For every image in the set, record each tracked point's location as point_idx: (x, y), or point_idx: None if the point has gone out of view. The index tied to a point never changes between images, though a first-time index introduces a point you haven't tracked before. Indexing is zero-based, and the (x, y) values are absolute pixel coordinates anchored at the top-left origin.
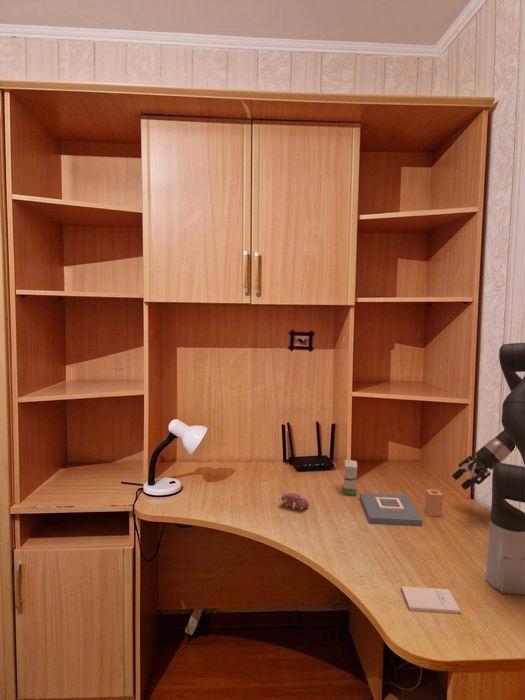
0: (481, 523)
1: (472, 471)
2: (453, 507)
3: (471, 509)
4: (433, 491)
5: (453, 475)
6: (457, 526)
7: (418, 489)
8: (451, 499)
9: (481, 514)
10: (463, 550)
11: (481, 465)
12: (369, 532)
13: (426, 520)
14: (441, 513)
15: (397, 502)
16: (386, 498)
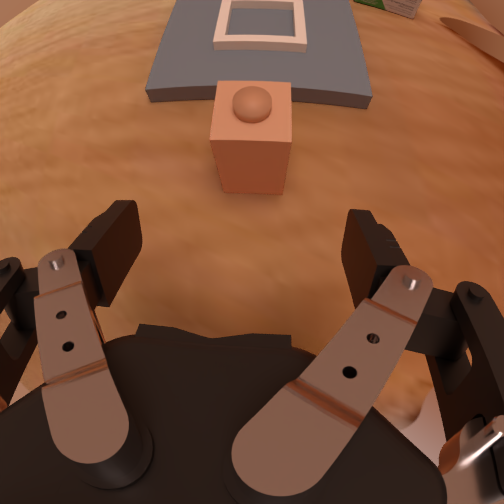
0: None
1: (53, 298)
2: (322, 289)
3: None
4: (237, 93)
5: (352, 214)
6: None
7: (475, 199)
8: None
9: None
10: (15, 187)
11: (3, 471)
12: (141, 2)
13: (188, 124)
14: (222, 186)
15: (273, 38)
16: (296, 16)
